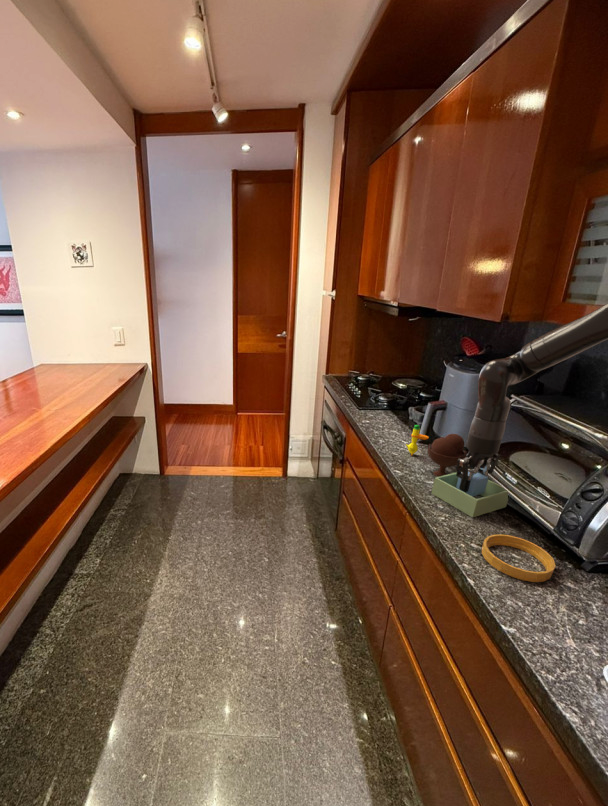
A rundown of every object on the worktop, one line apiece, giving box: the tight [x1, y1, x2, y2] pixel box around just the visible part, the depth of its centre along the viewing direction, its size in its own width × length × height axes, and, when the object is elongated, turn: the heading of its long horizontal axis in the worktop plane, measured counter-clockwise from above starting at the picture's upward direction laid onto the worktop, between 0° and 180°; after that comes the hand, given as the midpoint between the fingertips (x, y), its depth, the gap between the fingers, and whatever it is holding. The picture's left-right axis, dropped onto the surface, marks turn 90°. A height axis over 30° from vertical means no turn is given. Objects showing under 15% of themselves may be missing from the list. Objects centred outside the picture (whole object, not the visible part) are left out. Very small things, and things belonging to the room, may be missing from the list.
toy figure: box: [405, 424, 429, 456], centre depth 136 cm, size 7×4×12 cm, turn 58°
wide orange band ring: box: [481, 533, 557, 583], centre depth 87 cm, size 13×13×3 cm
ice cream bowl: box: [427, 433, 468, 477], centre depth 122 cm, size 11×11×15 cm
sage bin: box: [431, 472, 509, 518], centre depth 110 cm, size 13×13×6 cm
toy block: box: [456, 471, 490, 497], centre depth 109 cm, size 5×5×5 cm
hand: (470, 488), depth 109 cm, fingers closed on toy block, 5 cm apart
